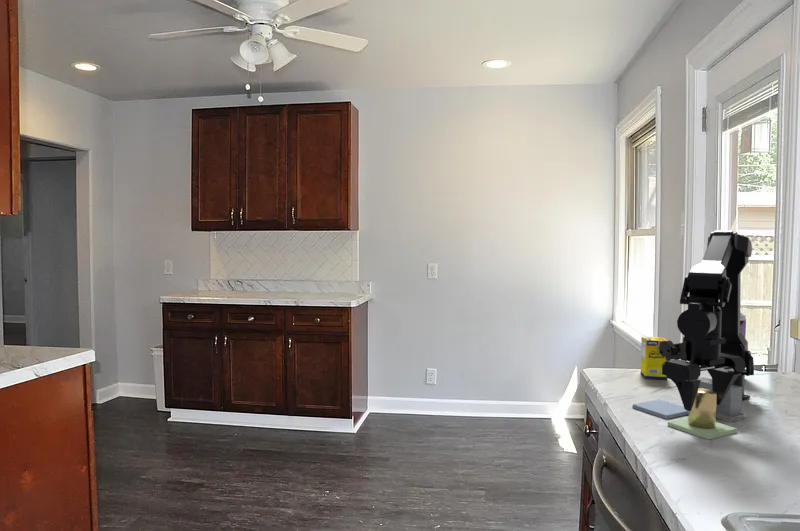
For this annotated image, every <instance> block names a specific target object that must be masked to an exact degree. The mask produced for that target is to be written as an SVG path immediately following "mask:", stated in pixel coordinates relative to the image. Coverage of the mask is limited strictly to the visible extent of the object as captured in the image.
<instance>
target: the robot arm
mask: <svg viewBox="0 0 800 531" xmlns="http://www.w3.org/2000/svg"><path fill="white" fill-rule="evenodd" d="M706 246H707V247H706V250H705V253H704V256H703V258H702V261H701V262H700V263H698V264H695V265H693V266H692V267H691V268H690V270H689V272H688V274H687V275H685V276H684V280H683V283H682V284H683V285H682V289H681V293H680V297H679V298H680V299H679V304H680V305H687V309H685V310H684V311H683V312H681V313H680V314H679V315H678V318H677V322H676V325H677V328H678V330H679V332H680V333H681V335H683V338H682V342H679V343H674V342H673V341H672V340H670V339H669V340H667V341H663V342H660V345H659V354H660V355H661V356H662V357H665V359H666V361H665V362H664V363H663V364H662V371H661V374H662V375H666V377H667V380H668V379H669V380H671V381H672V382H673V383H674V384H675V386H676V388H677V392H678V393H679V398H680V400H681V403H682V406H683V407H684V409H685V410H687V411H691V409H692V407H693V404H694V401H695V398H696V394H697V391H698V388H699V385H700V382H701V380H698V378H700V376H701V374H702V373H701V372H705V371H707V373H708V374H709V376H710V377H711V379H712V390H713V391H715V392H717V402H716V405H720V403H721V402H722V400H723V399H724V397H725V395H726V394H727V392H728V390H729V389H730V387H731V386H732V384H733V385H737V386H742V400H746V399H751V395H748V394H745V380H746V379H745V377H746V376H747V377H750V376H755V362H754V361H755V360H754V357H753V355H752V353H751V350H749V345H748V344H749V343H748V340H747V338H746V336H745V337H744V336H743V335H742V333H741V332H740V313H741V312H740V311H741V290H742V289H741V288H742V287H741V286H742V285H741V275H742V274H741V273H742V271H743V270H744V268H746V265H747V264H748V263H749V261H750V259H749V258H751V256H752V252H753V251H752V248H753V245H752V241H751V239H750V238H749V237H747V236H745V235H743V234H742V235H741V234H738V232H737V231H734V230H714V231H711V232H710V234H709V236H708V237H707V244H706Z"/></svg>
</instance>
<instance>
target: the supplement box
mask: <svg viewBox="0 0 800 531" xmlns="http://www.w3.org/2000/svg"><path fill="white" fill-rule="evenodd" d="M663 341H668V340H667V339H666V338H664V337H662V336H661V337H659V336H641V341H640V342H641V345H640V349H641V350H640V374H641V376H643V378H644V379H647V380H648V379H649V380H666V381H667V380H668V378H667V377H666V375H662V374H661V371H662V364H663V363H664V362H665V361H666V359H665V357H662V356H661V355H660V354H659V345H660V342H663Z"/></svg>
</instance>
